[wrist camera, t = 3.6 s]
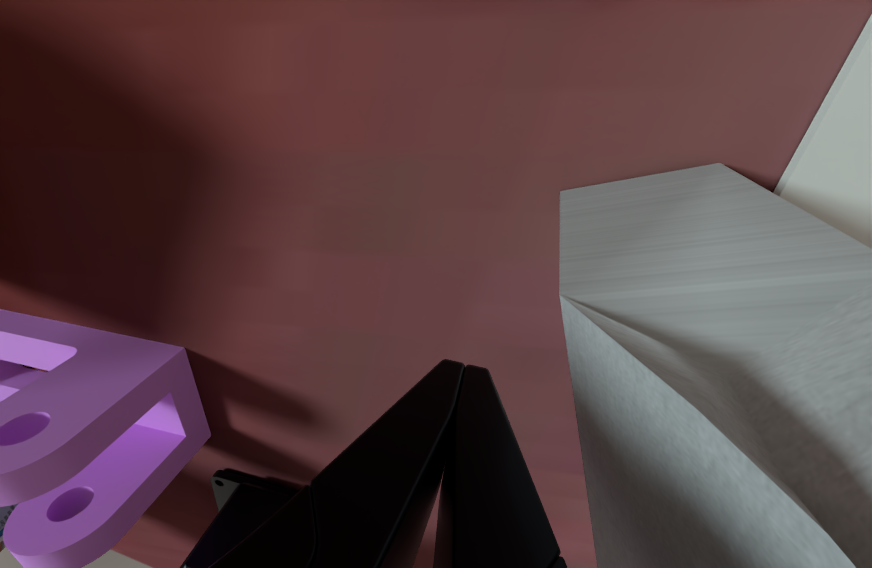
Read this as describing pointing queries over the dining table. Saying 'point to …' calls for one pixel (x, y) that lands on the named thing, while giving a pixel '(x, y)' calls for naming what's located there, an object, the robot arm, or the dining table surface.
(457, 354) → the dining table surface
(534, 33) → the dining table surface
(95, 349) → the bracket
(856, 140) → the mat
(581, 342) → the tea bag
